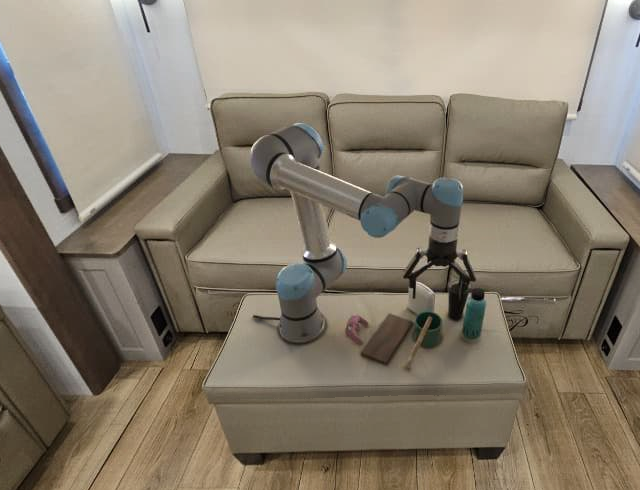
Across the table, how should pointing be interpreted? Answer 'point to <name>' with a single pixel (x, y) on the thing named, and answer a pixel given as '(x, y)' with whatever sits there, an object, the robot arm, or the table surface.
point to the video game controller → (354, 327)
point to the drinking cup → (456, 299)
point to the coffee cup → (433, 330)
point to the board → (387, 339)
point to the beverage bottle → (474, 314)
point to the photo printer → (421, 299)
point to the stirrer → (418, 342)
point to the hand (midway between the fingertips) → (437, 296)
